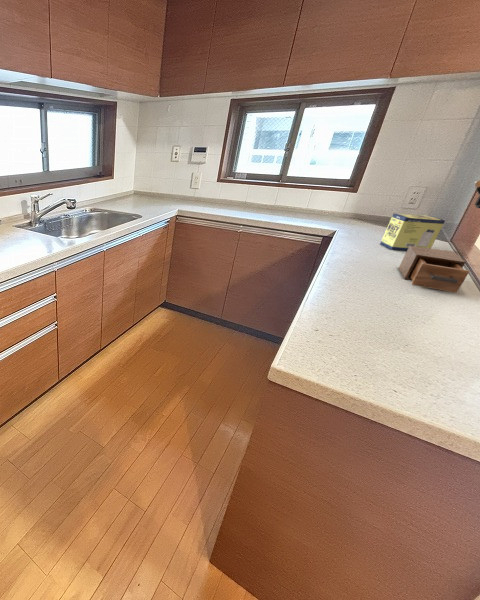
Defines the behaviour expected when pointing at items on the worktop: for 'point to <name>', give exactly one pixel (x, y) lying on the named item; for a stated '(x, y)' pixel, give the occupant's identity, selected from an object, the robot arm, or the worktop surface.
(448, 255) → the cabinet
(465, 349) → the worktop surface
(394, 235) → the protein box
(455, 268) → the drawer
